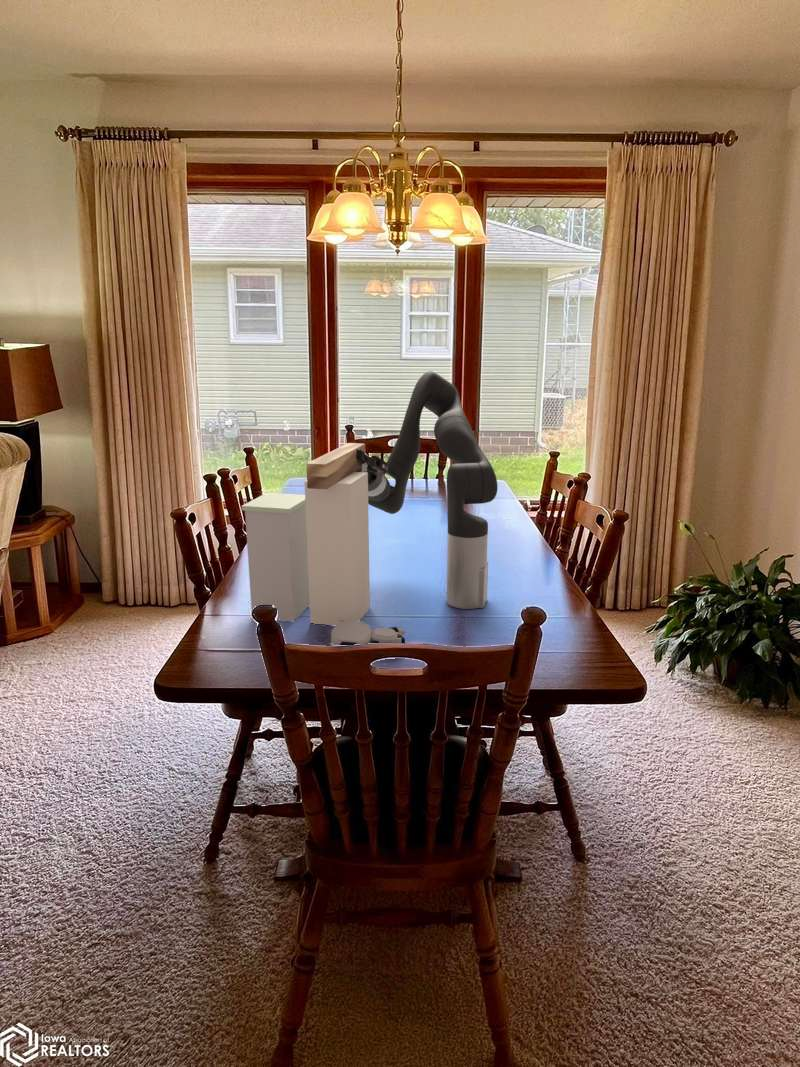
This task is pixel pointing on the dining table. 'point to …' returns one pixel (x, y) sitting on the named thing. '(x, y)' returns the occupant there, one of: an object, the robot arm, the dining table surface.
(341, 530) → the tall stand
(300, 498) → the low stand
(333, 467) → the wooden bar
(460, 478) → the robot arm
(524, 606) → the dining table surface
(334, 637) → the robot toy
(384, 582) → the dining table surface
